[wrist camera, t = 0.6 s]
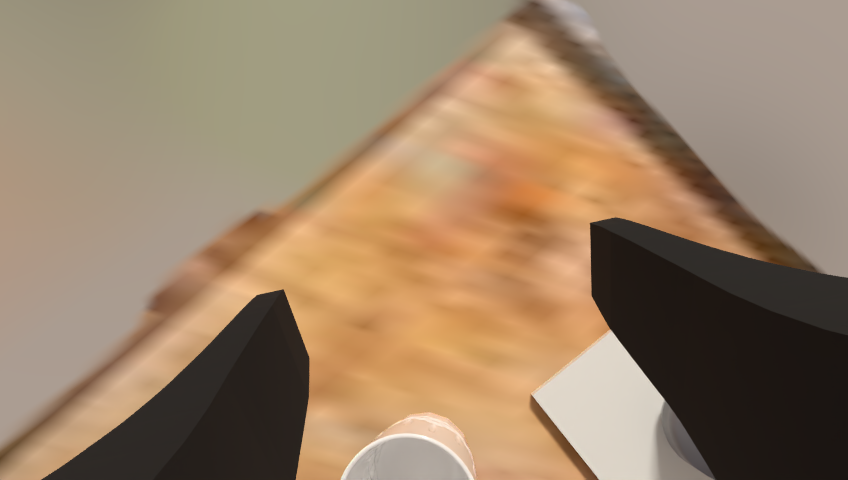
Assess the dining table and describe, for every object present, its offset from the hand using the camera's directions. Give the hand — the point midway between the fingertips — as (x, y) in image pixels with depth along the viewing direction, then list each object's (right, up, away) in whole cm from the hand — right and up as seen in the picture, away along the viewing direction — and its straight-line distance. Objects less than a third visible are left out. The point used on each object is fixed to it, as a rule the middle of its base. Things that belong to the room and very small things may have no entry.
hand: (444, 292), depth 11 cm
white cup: (0, -15, +24) cm, 28 cm away
